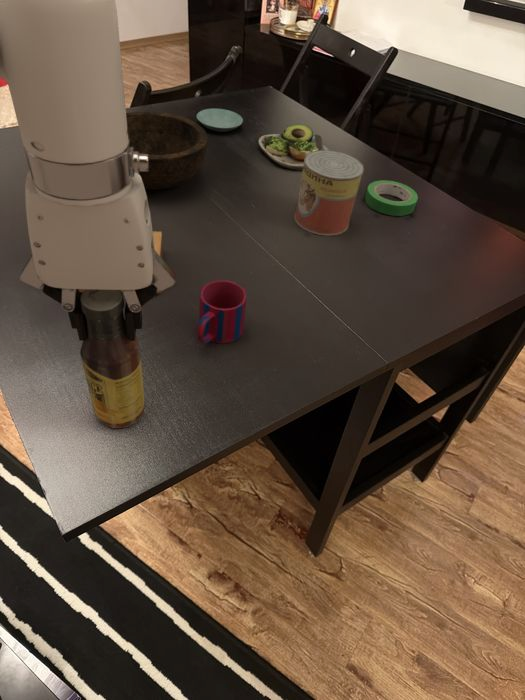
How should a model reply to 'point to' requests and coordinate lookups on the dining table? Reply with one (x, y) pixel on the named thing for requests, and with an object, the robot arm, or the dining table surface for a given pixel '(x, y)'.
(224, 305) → the mug
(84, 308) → the sauce bottle
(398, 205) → the tape roll
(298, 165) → the avocado toast plate
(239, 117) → the saucer
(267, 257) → the dining table surface
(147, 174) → the bowl
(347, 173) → the canned food
